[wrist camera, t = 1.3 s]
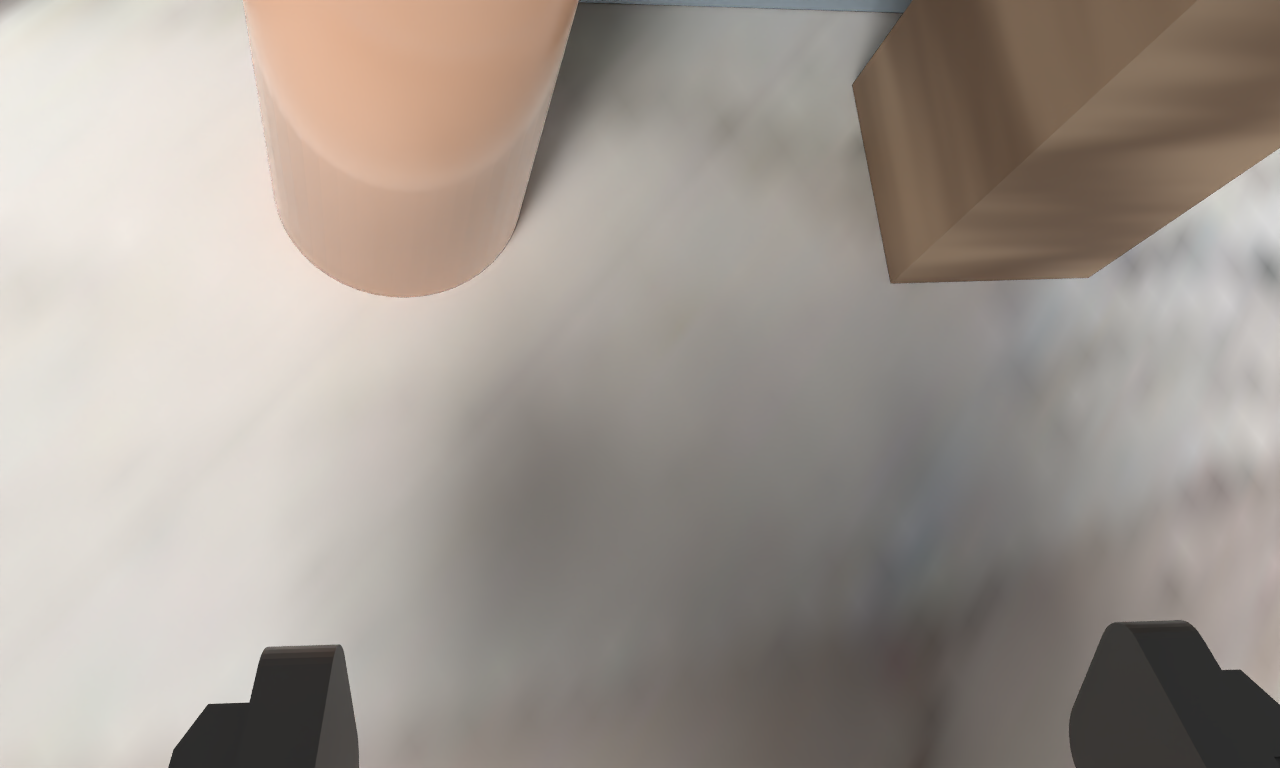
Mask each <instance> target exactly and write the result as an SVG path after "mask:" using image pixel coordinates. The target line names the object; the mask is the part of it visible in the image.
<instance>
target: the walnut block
mask: <svg viewBox="0 0 1280 768" xmlns="http://www.w3.org/2000/svg"><path fill="white" fill-rule="evenodd" d="M852 87H853V92H854V97H855V102H856V107H857V112H858V118H859V123H860V128H861V133H862V138H863V143H864V148H865V153H866V159H867V164H868V169H869V174H870V179H871V184H872V189H873V195H874V200H875V205H876V210H877V215H878V220H879V225H880V231H881V236H882V241H883V246H884V251H885V256H886V261H887V266H888V272H889V277H890V282H891V283H924V282H958V281H993V280H1027V279H1061V278H1089V277H1090V276H1092V275H1093V274H1095V273H1096V272H1098V271H1099V270H1101V269H1102V268H1104V267H1105V266H1107V265H1108V264H1110V263H1111V262H1112V261H1114V260H1115V259H1117V258H1118V257H1120V256H1121V255H1123V254H1124V253H1126V252H1127V251H1129V250H1130V249H1132V248H1133V247H1135V246H1136V245H1137V244H1139V243H1140V242H1142V241H1143V240H1145V239H1146V238H1148V237H1149V236H1151V235H1152V234H1154V233H1155V232H1157V231H1158V230H1160V229H1161V228H1163V227H1164V226H1165V225H1167V224H1168V223H1170V222H1171V221H1173V220H1174V219H1176V218H1177V217H1179V216H1180V215H1182V214H1183V213H1185V212H1186V211H1188V210H1189V209H1191V208H1192V207H1193V206H1195V205H1196V204H1198V203H1199V202H1201V201H1202V200H1204V199H1205V198H1207V197H1208V196H1210V195H1211V194H1213V193H1214V192H1216V191H1217V190H1218V189H1220V188H1221V187H1223V186H1224V185H1226V184H1227V183H1229V182H1230V181H1232V180H1233V179H1235V178H1236V177H1238V176H1239V175H1241V174H1242V173H1244V172H1245V171H1246V170H1248V169H1249V168H1251V167H1252V166H1254V165H1255V164H1257V163H1258V162H1260V161H1261V160H1263V159H1264V158H1266V157H1267V156H1269V155H1270V154H1272V153H1273V152H1274V151H1276V150H1277V149H1279V148H1280V0H912V2H911V3H910V5H909V6H908V7H907V9H906V10H905V12H904V13H903V14H902V16H901V17H900V19H899V20H898V21H897V23H896V24H895V26H894V27H893V28H892V30H891V31H890V33H889V34H888V35H887V37H886V38H885V40H884V41H883V42H882V44H881V45H880V47H879V48H878V49H877V51H876V52H875V54H874V55H873V56H872V58H871V59H870V61H869V62H868V63H867V65H866V66H865V68H864V69H863V71H862V72H861V73H860V75H859V76H858V78H857V79H856V80H855V82H854V83H853V85H852Z"/></svg>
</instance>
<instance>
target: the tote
mask: <svg viewBox="0 0 1280 768" xmlns="http://www.w3.org/2000/svg"><path fill="white" fill-rule="evenodd" d="M579 2H593V3H623V4H654V5H685V6H715V7H746V8H776V9H807V10H838V11H868V12H899V13H904V12H905V10H906V9H907V7H908V6H909V5H910V3H911V2H912V0H579Z"/></svg>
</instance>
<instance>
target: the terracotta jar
mask: <svg viewBox="0 0 1280 768" xmlns="http://www.w3.org/2000/svg"><path fill="white" fill-rule="evenodd" d="M578 2H579V0H243V5H244V11H245V17H246V23H247V30H248V36H249V42H250V49H251V55H252V61H253V67H254V74H255V80H256V86H257V93H258V99H259V105H260V111H261V118H262V124H263V130H264V137H265V143H266V149H267V155H268V162H269V168H270V174H271V181H272V187H273V193H274V199H275V203H276V207H277V211H278V215H279V217H280V219H281V222H282V224H283V226H284V229H285V230H286V232H287V234H288V235H289V237H290V239H291V240H292V242H293V243H294V244H295V246H296V247H297V248H298V249H299V251H300V252H301V253H302V254H303V255H304V256H305V257H306V258H307V259H308V260H309V261H310V262H311V263H312V264H313V265H314V266H316V267H317V268H318V269H320V270H321V271H323V272H324V273H325V274H327V275H328V276H330V277H332V278H333V279H335V280H337V281H339V282H341V283H342V284H345V285H347V286H350V287H352V288H355V289H357V290H360V291H364V292H368V293H371V294H375V295H382V296H389V297H417V296H426V295H431V294H436V293H440V292H443V291H446V290H449V289H452V288H455V287H457V286H459V285H461V284H463V283H465V282H467V281H469V280H471V279H472V278H474V277H475V276H476V275H478V274H479V273H481V272H482V271H483V270H485V269H486V268H487V267H488V266H489V265H490V264H491V263H492V262H494V260H495V259H496V258H497V257H498V256H499V254H500V253H501V252H502V251H503V249H504V248H505V246H506V245H507V243H508V241H509V240H510V238H511V236H512V234H513V231H514V229H515V227H516V224H517V221H518V217H519V214H520V210H521V206H522V203H523V199H524V196H525V192H526V188H527V185H528V181H529V178H530V174H531V171H532V167H533V163H534V160H535V156H536V153H537V149H538V145H539V142H540V138H541V135H542V131H543V127H544V124H545V120H546V117H547V113H548V109H549V106H550V102H551V99H552V95H553V91H554V88H555V84H556V81H557V77H558V73H559V70H560V66H561V63H562V59H563V56H564V52H565V48H566V45H567V41H568V38H569V34H570V30H571V27H572V23H573V20H574V16H575V12H576V9H577V5H578Z"/></svg>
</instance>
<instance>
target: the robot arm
mask: <svg viewBox="0 0 1280 768" xmlns="http://www.w3.org/2000/svg"><path fill="white" fill-rule="evenodd" d="M1069 738H1070V747H1071V753H1072V757H1073V761H1074V764H1075V767H1076V768H1280V705H1279V704H1278V703H1277V702H1276V701H1275V700H1274V699H1273V698H1271V697H1270V696H1269V695H1268V694H1267V693H1266V692H1265V691H1264V690H1263V689H1261V688H1260V687H1259V686H1258V685H1257V684H1256V683H1255V682H1254V681H1252V680H1251V679H1250V678H1249V677H1248V676H1247V675H1246V674H1245V673H1243V672H1242V671H1241V670H1221V668H1220V667H1219V665H1218V663H1217V662H1216V660H1215V658H1214V657H1213V655H1212V653H1211V652H1210V650H1209V648H1208V647H1207V645H1206V643H1205V642H1204V640H1203V638H1202V637H1201V635H1200V634H1199V632H1198V631H1197V630H1196V629H1195V628H1194V627H1193V626H1192V625H1191V624H1189V623H1188V622H1185V621H1181V620H1174V621H1143V622H1115V623H1112V624H1110V625H1109V626H1108V627H1107V628H1106V629H1105V631H1104V633H1103V635H1102V638H1101V640H1100V642H1099V645H1098V647H1097V650H1096V652H1095V655H1094V657H1093V660H1092V662H1091V664H1090V667H1089V669H1088V672H1087V674H1086V677H1085V679H1084V681H1083V684H1082V686H1081V689H1080V691H1079V694H1078V696H1077V699H1076V701H1075V703H1074V706H1073V708H1072V712H1071V716H1070V723H1069ZM168 768H359V748H358V736H357V729H356V723H355V717H354V711H353V705H352V698H351V692H350V686H349V680H348V674H347V668H346V662H345V656H344V651H343V648H342V646H341V645H312V646H281V647H266V648H265V649H264V651H263V653H262V655H261V658H260V661H259V664H258V668H257V673H256V677H255V681H254V686H253V690H252V694H251V699H250V703H226V704H208V705H207V706H206V708H205V709H204V710H203V712H202V713H201V714H200V716H199V717H198V718H197V720H196V721H195V722H194V724H193V725H192V726H191V727H190V729H189V730H188V731H187V733H186V734H185V735H184V737H183V738H182V739H181V741H180V742H179V743H178V745H177V746H176V747H175V749H174V750H173V753H172V757H171V760H170V764H169V767H168Z"/></svg>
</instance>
